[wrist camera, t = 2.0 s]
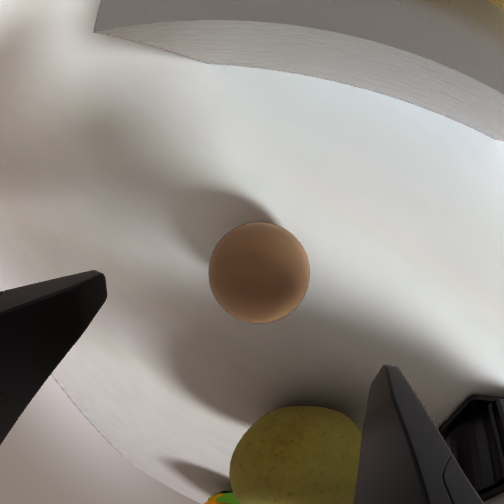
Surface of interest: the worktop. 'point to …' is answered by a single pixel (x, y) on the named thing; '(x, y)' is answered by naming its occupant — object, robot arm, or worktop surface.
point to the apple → (297, 458)
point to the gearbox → (342, 45)
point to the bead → (259, 272)
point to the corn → (223, 498)
